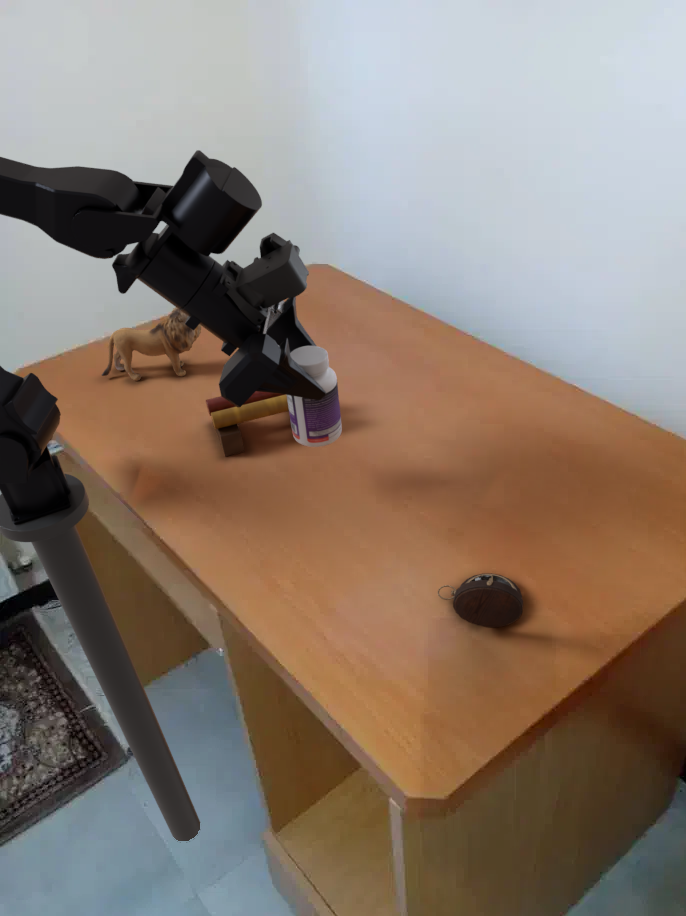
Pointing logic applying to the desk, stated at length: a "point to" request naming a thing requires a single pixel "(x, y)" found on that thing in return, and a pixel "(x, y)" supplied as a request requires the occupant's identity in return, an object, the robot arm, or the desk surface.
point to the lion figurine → (153, 343)
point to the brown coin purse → (487, 600)
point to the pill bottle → (315, 401)
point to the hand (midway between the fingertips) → (324, 381)
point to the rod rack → (242, 416)
